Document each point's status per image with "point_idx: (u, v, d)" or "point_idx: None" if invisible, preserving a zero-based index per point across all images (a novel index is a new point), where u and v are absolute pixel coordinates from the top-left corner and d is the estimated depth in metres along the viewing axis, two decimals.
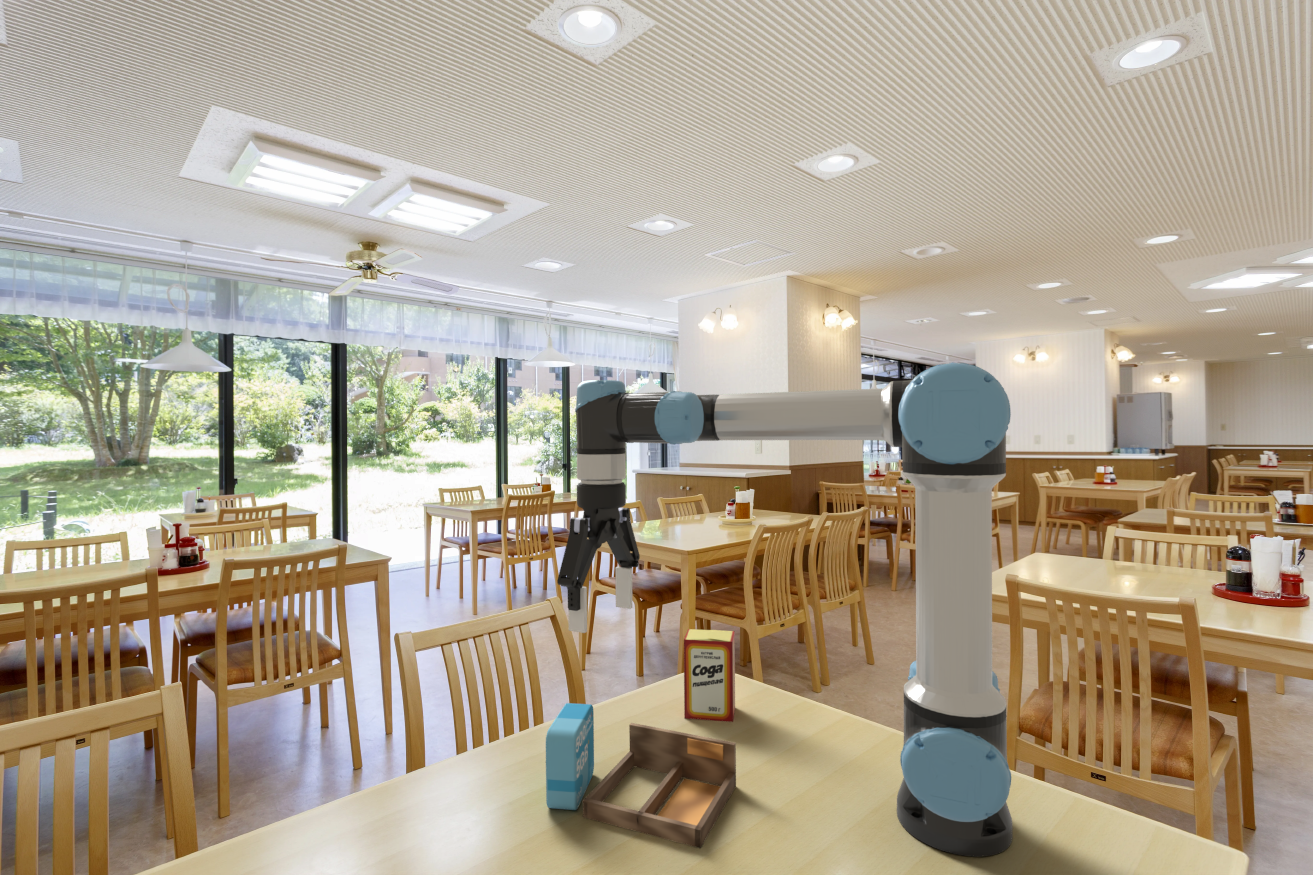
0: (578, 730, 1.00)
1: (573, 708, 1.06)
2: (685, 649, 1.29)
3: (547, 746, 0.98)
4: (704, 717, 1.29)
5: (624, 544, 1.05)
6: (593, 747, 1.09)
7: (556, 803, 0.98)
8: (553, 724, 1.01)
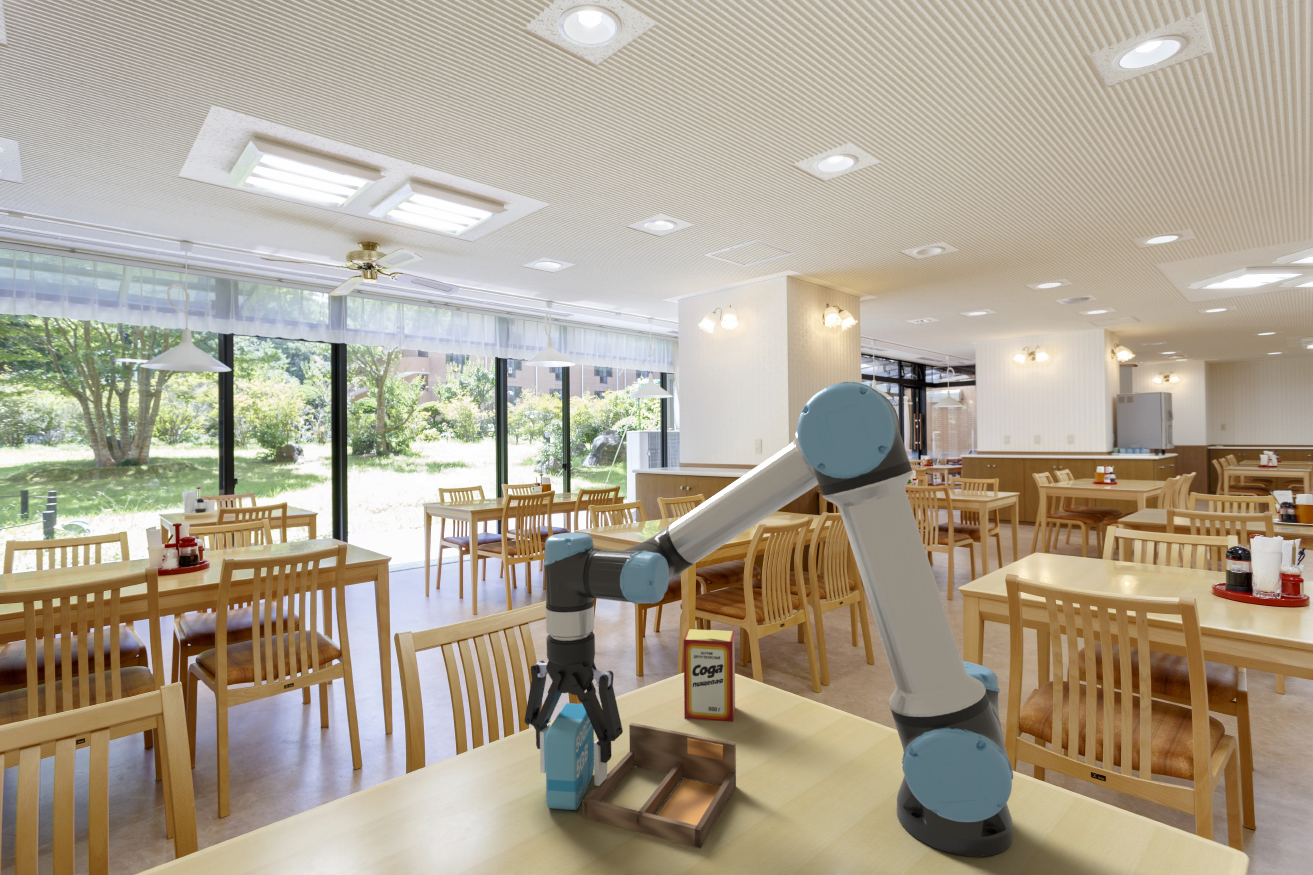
0: (578, 730, 1.00)
1: (573, 708, 1.06)
2: (685, 649, 1.29)
3: (547, 746, 0.98)
4: (704, 717, 1.29)
5: (590, 710, 1.01)
6: (593, 747, 1.09)
7: (556, 803, 0.98)
8: (553, 724, 1.01)
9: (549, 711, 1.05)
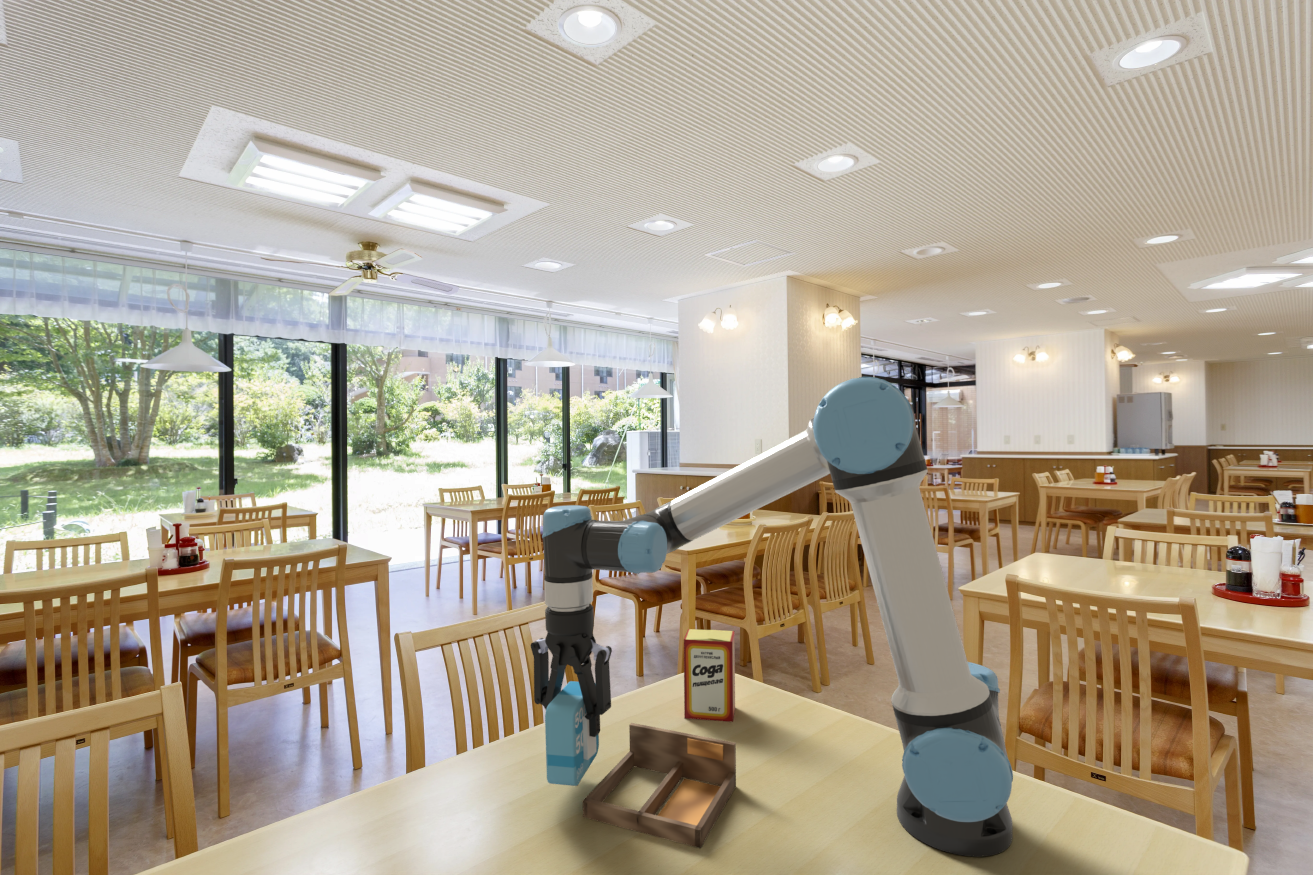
0: (578, 706, 1.00)
1: (576, 686, 1.06)
2: (685, 649, 1.29)
3: (546, 721, 0.98)
4: (704, 717, 1.29)
5: (583, 684, 1.01)
6: None
7: (556, 778, 0.98)
8: (553, 700, 1.01)
9: (556, 687, 1.04)
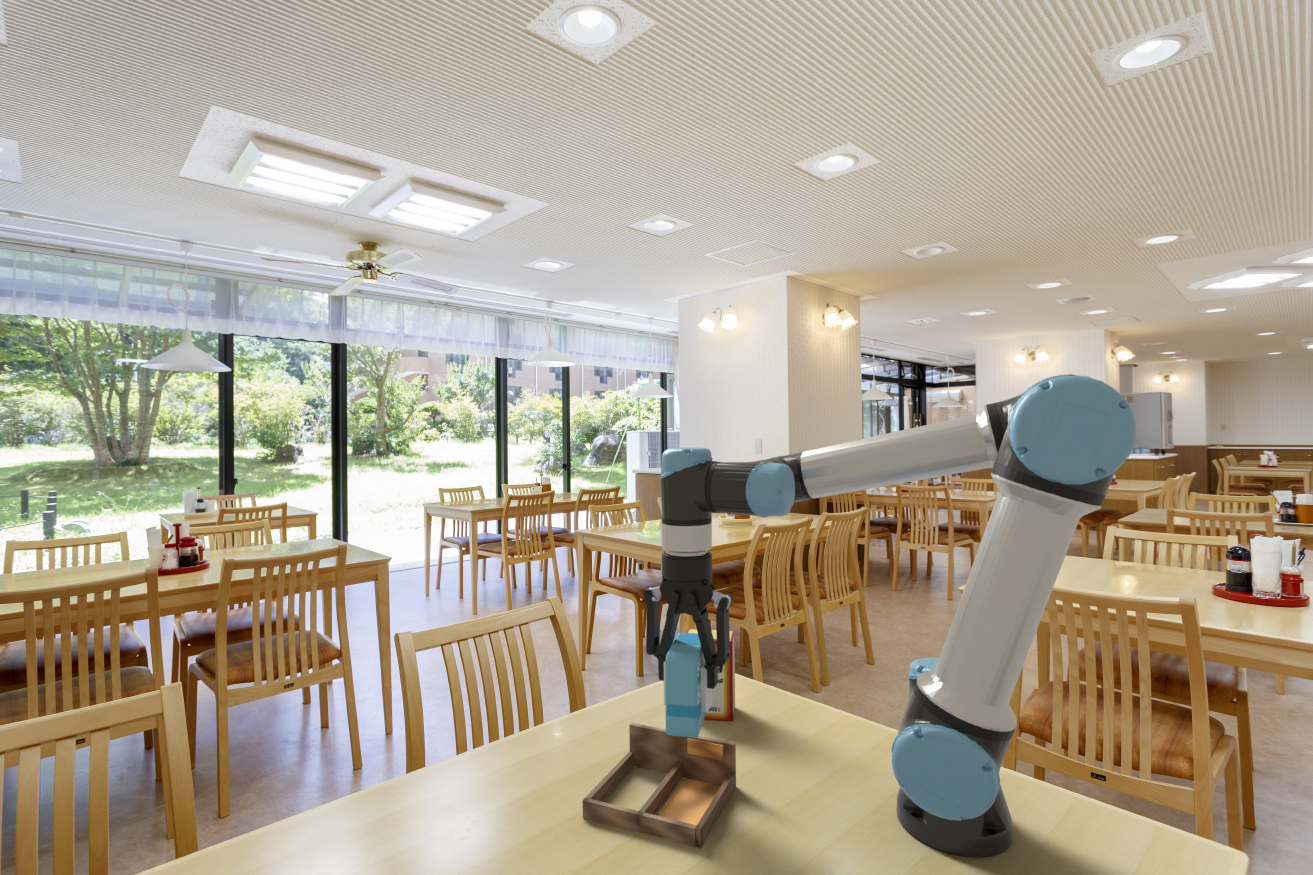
0: (698, 655, 0.95)
1: (689, 637, 1.01)
2: None
3: (667, 669, 0.93)
4: None
5: (702, 633, 0.96)
6: None
7: (676, 729, 0.93)
8: (671, 648, 0.96)
9: (670, 637, 0.99)
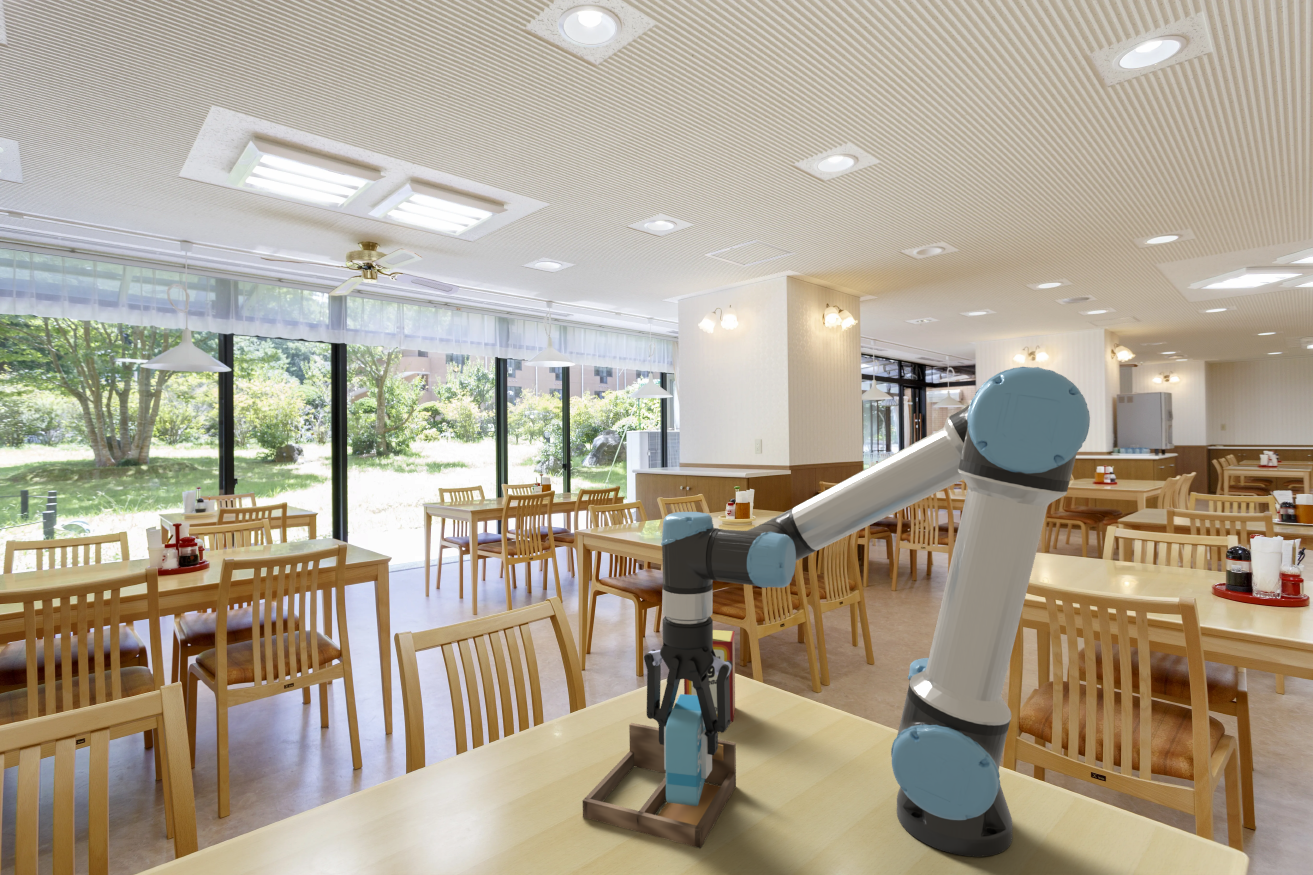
0: (699, 722, 0.95)
1: (689, 700, 1.02)
2: None
3: (667, 738, 0.94)
4: None
5: (703, 699, 0.97)
6: None
7: (676, 798, 0.94)
8: (672, 715, 0.96)
9: (671, 702, 0.99)
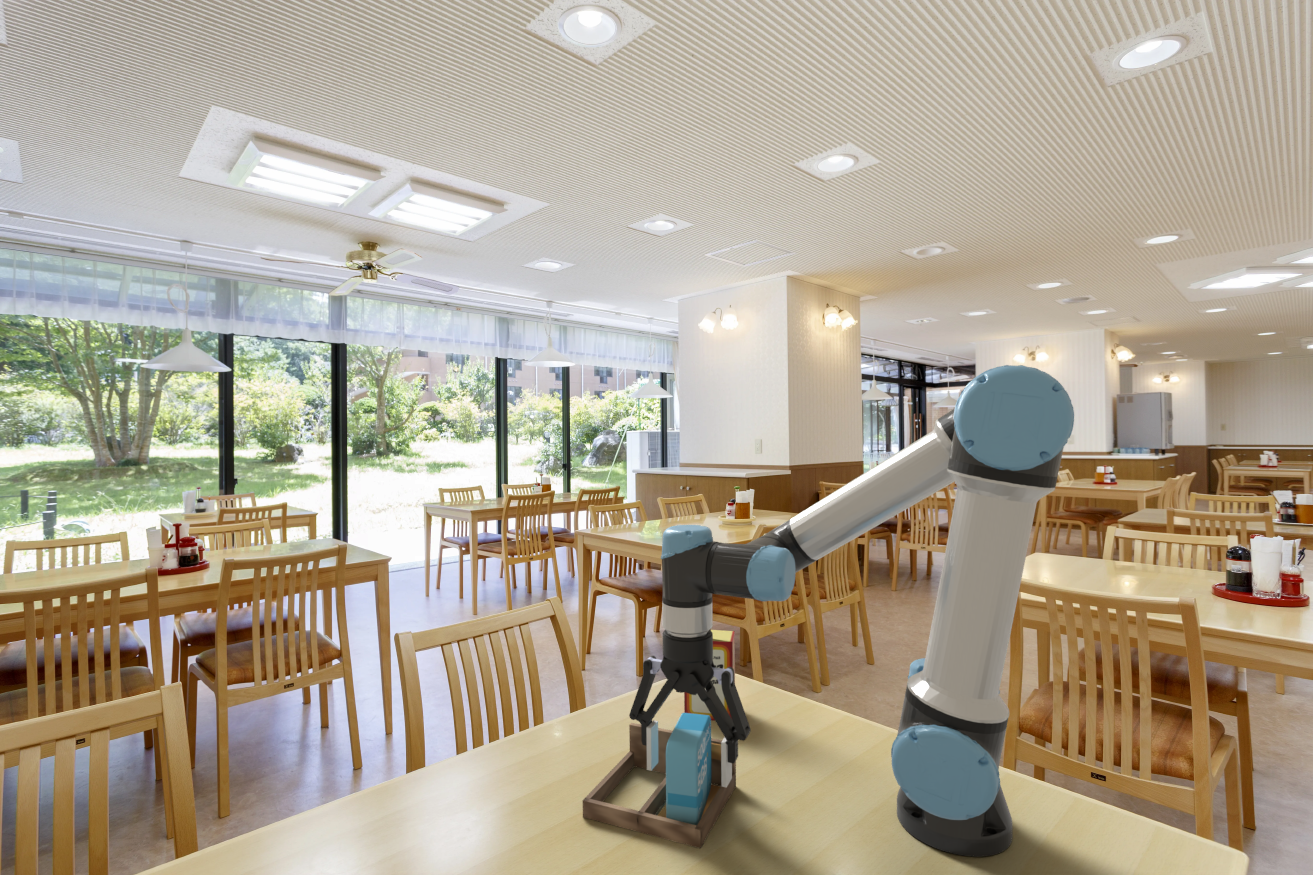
0: (699, 743, 0.95)
1: (691, 719, 1.02)
2: None
3: (667, 758, 0.94)
4: None
5: (714, 709, 0.96)
6: None
7: (677, 818, 0.94)
8: (672, 735, 0.97)
9: (658, 708, 1.00)
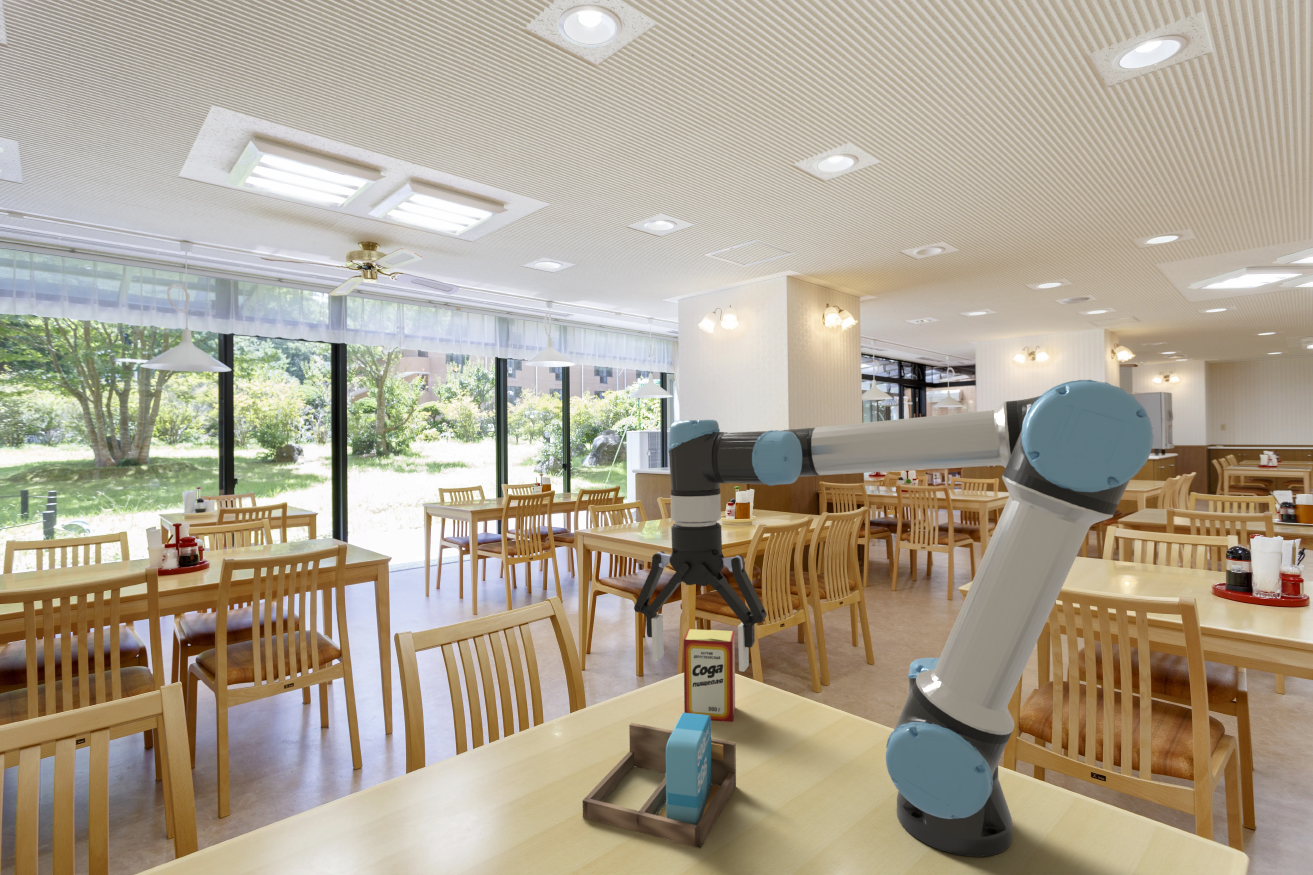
0: (699, 743, 0.95)
1: (691, 719, 1.02)
2: (685, 649, 1.29)
3: (667, 758, 0.94)
4: None
5: (727, 596, 0.96)
6: None
7: (677, 818, 0.94)
8: (672, 735, 0.97)
9: (664, 600, 1.01)
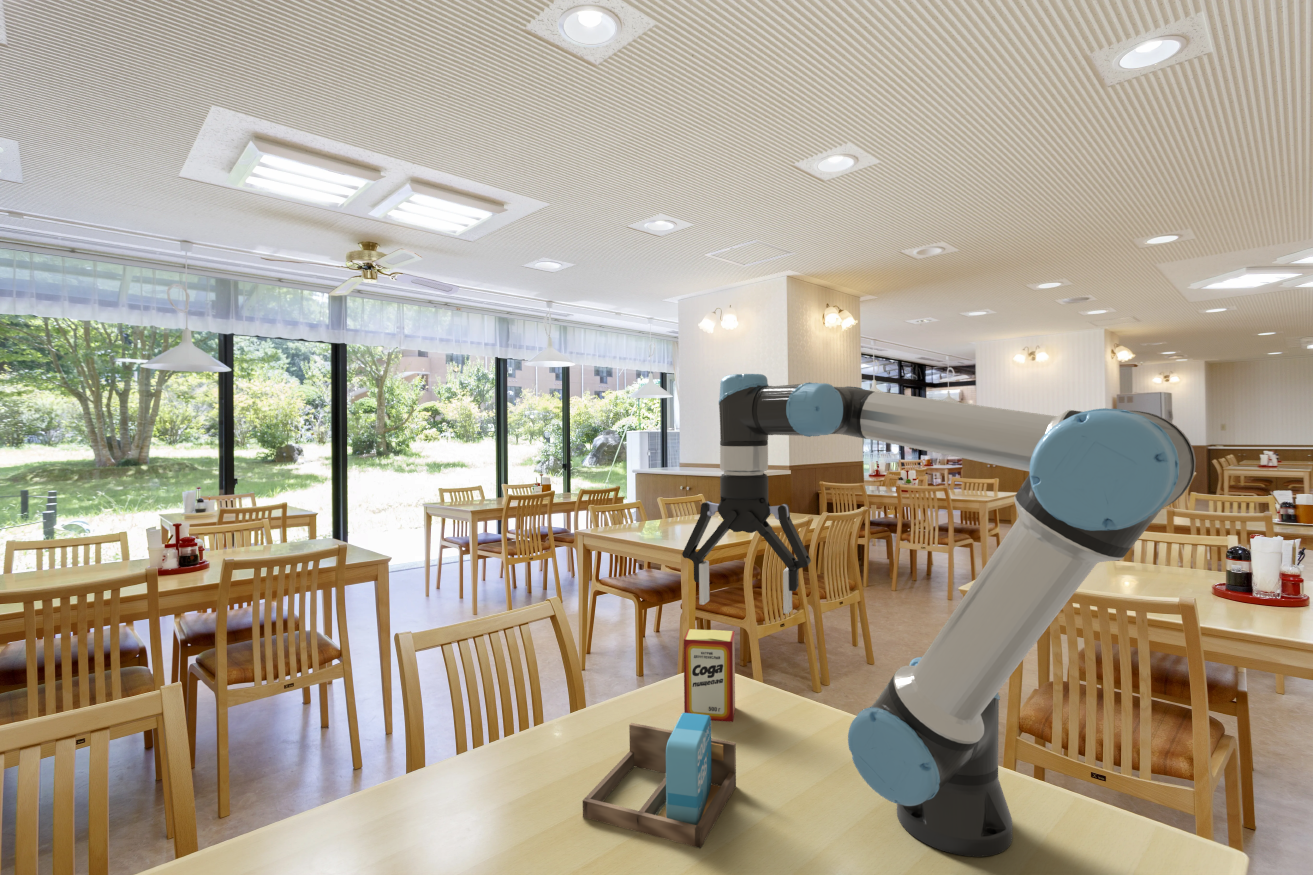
0: (699, 743, 0.95)
1: (691, 719, 1.02)
2: (685, 649, 1.29)
3: (667, 758, 0.94)
4: None
5: (773, 542, 1.01)
6: None
7: (677, 818, 0.94)
8: (672, 735, 0.97)
9: (711, 547, 1.06)
